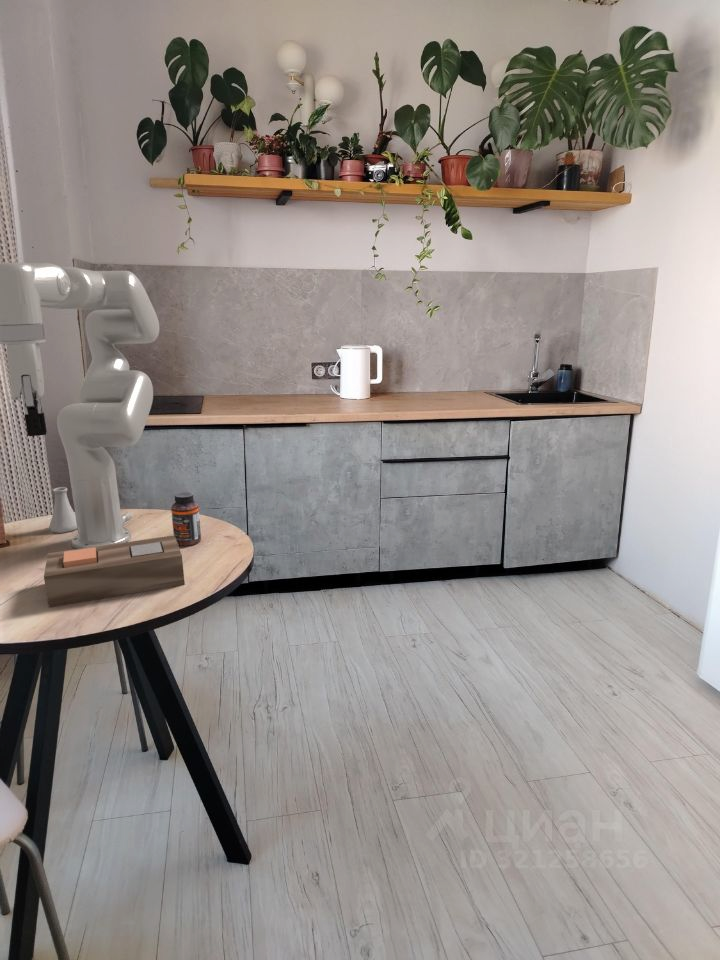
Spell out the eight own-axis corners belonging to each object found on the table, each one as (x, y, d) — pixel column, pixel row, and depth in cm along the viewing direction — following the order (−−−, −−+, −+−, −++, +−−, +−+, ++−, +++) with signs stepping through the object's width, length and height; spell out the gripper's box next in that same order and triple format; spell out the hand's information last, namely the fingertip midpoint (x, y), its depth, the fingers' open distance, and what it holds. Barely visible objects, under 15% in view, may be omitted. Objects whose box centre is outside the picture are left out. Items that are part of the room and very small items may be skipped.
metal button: (133, 569, 134) (130, 546, 132) (162, 565, 135) (159, 542, 134) (135, 580, 129) (132, 556, 127) (165, 575, 130) (162, 551, 129)
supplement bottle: (170, 546, 149) (165, 497, 145) (180, 537, 154) (175, 490, 151) (196, 547, 148) (191, 498, 145) (205, 537, 154) (201, 490, 150)
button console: (52, 581, 131) (47, 553, 130) (177, 562, 140) (174, 535, 138) (48, 607, 121) (43, 576, 119) (184, 584, 129) (181, 555, 127)
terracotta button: (67, 575, 129) (64, 551, 128) (98, 571, 131) (95, 547, 130) (67, 587, 124) (63, 562, 123) (99, 582, 126) (95, 557, 125)
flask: (72, 521, 167) (66, 483, 164) (87, 527, 162) (82, 487, 160) (43, 529, 161) (37, 490, 159) (58, 535, 157) (52, 495, 154)
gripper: (3, 333, 126) (19, 429, 131) (-7, 338, 112) (11, 444, 117) (47, 331, 128) (60, 426, 133) (42, 336, 115) (57, 440, 120)
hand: (37, 434), depth 125 cm, fingers closed
